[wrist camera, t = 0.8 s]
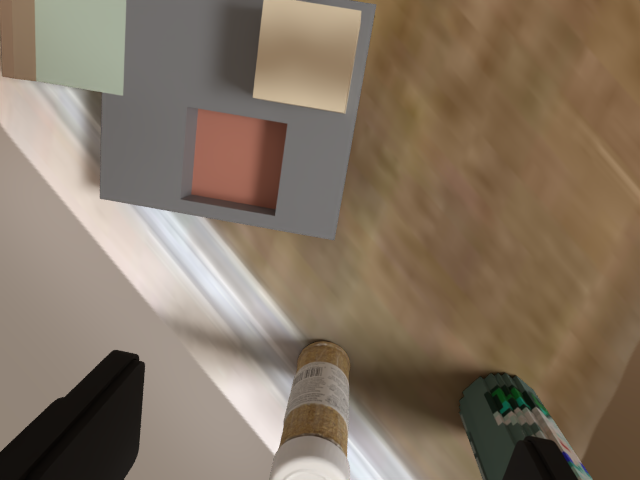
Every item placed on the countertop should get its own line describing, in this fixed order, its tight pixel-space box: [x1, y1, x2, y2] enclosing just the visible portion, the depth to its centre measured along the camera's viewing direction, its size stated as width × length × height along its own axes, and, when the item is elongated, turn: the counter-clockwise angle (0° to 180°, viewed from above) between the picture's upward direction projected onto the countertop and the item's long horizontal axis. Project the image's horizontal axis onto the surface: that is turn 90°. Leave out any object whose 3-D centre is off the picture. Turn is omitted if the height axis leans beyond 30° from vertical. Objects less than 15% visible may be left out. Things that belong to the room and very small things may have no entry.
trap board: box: [0, 0, 376, 240], centre depth 29 cm, size 23×23×4 cm
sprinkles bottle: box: [269, 341, 350, 480], centre depth 30 cm, size 5×5×13 cm
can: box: [459, 373, 592, 480], centre depth 29 cm, size 6×6×15 cm
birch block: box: [253, 0, 361, 114], centre depth 26 cm, size 6×6×4 cm
